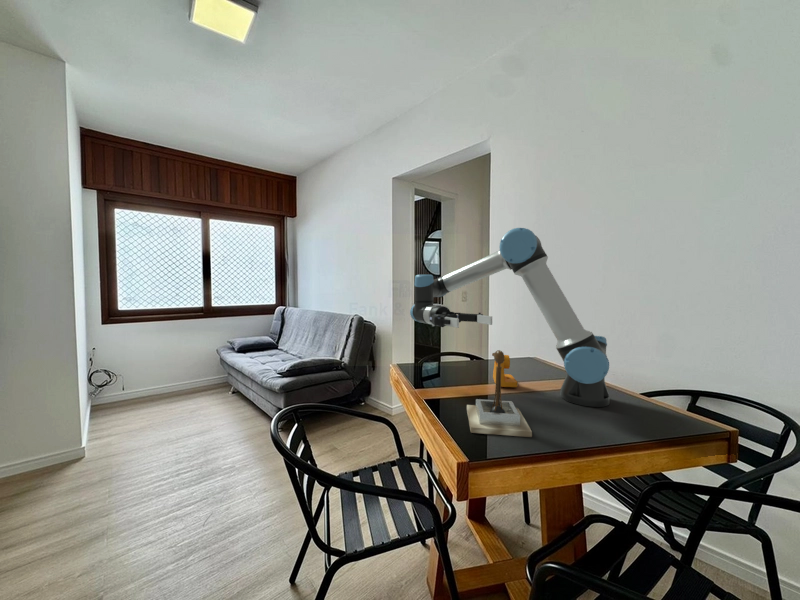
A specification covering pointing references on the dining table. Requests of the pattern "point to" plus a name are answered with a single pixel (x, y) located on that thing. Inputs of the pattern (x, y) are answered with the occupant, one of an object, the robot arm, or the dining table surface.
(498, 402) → the wooden tabletop sculpture
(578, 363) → the robot arm
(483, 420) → the collar
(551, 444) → the dining table surface
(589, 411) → the dining table surface
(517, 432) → the stand
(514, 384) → the bracket
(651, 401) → the dining table surface
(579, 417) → the dining table surface
